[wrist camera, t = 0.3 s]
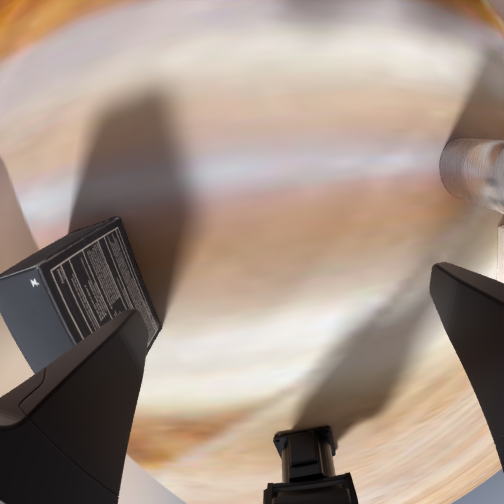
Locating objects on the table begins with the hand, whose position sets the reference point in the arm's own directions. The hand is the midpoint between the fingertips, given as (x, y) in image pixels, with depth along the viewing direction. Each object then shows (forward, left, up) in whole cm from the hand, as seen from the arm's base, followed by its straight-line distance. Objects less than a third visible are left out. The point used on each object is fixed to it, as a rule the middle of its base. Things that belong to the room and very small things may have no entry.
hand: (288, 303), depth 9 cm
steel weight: (0, -16, -14) cm, 21 cm away
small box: (-2, +15, -14) cm, 21 cm away
